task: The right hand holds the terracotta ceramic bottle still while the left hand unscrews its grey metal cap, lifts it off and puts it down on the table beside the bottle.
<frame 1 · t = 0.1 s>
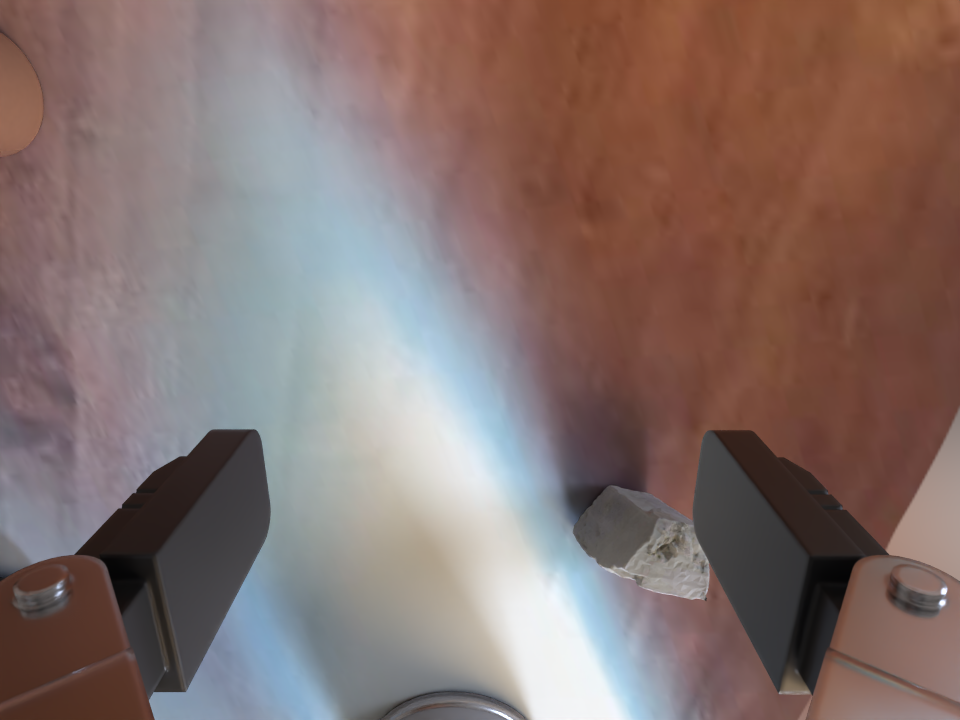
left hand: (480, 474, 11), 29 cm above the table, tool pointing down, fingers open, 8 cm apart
mineral specimen: (627, 504, 46), on the table
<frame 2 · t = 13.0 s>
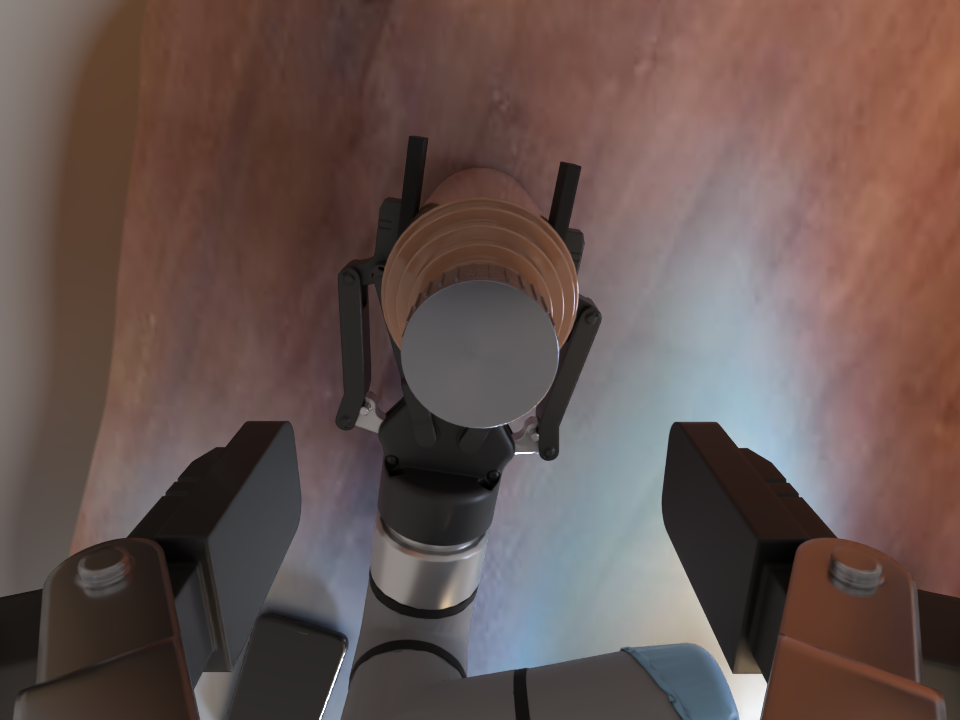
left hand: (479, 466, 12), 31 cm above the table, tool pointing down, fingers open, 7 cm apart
right hand: (495, 151, 33), fingers closed on bottle, 7 cm apart
bottle: (479, 226, 40), on the table, touching right hand
smartphone: (285, 686, 54), on the table
cap: (479, 353, 17), point 24 cm above the table, screwed on, not yet turned
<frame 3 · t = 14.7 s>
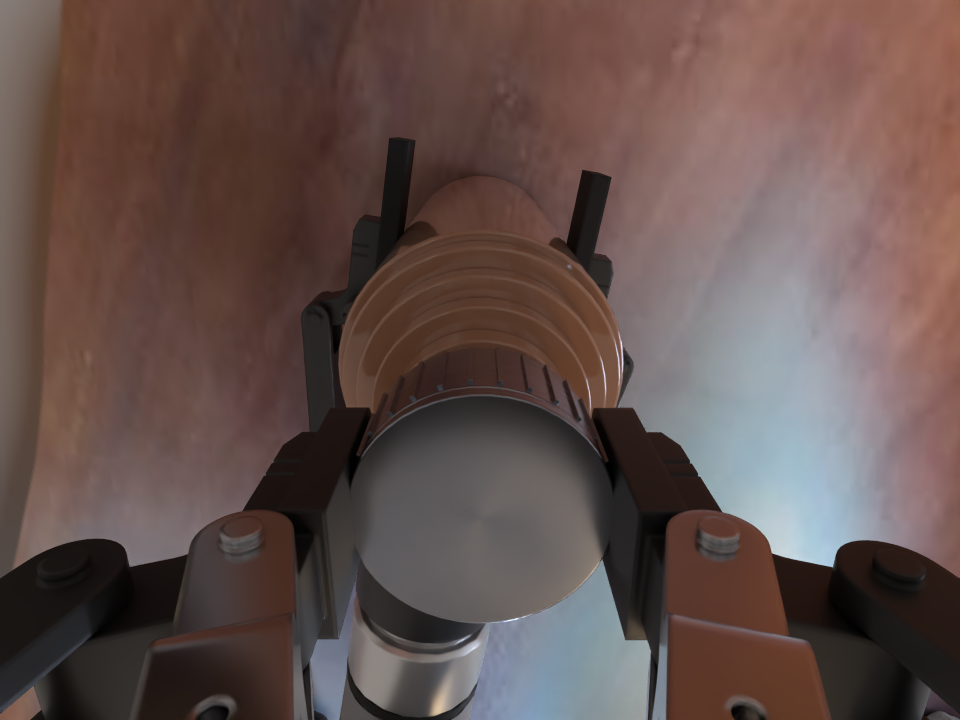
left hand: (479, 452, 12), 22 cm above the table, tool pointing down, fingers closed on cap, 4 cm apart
bottle: (480, 247, 33), on the table, touching right hand
cap: (481, 507, 10), point 24 cm above the table, screwed on, not yet turned, touching left hand
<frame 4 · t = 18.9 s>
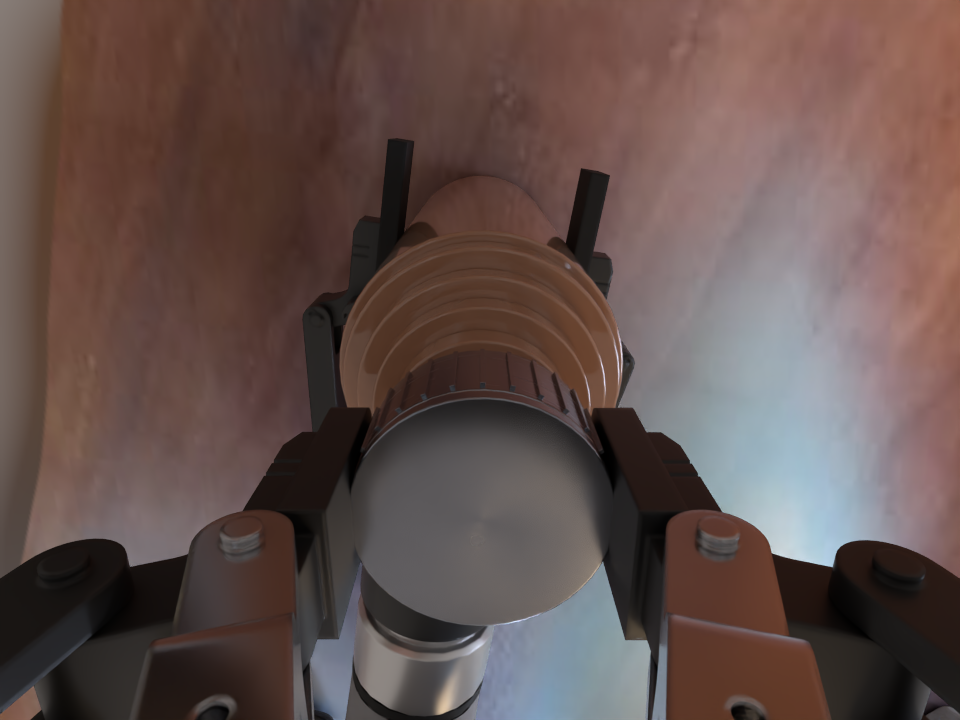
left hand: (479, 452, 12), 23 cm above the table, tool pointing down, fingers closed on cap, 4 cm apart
bottle: (480, 247, 33), on the table, touching right hand
cap: (481, 510, 10), point 24 cm above the table, turned 106° so far, risen 0.1 cm, still on its thread, touching left hand
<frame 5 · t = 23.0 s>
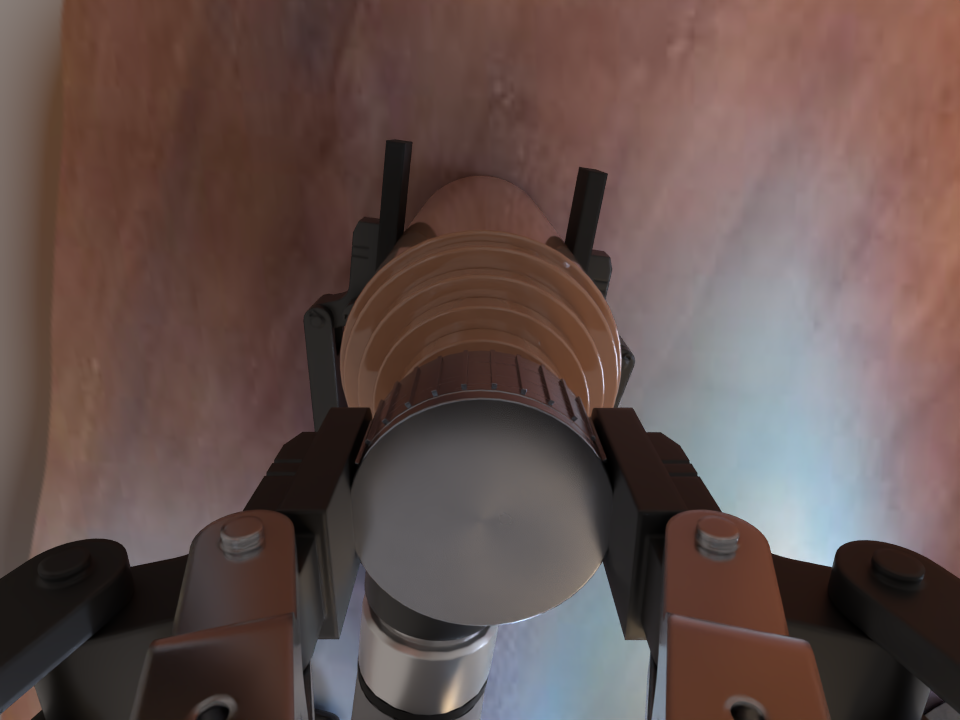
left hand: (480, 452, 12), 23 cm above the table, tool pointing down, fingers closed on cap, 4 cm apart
bottle: (480, 246, 33), on the table, touching right hand
cap: (481, 510, 10), point 24 cm above the table, turned 212° so far, risen 0.2 cm, still on its thread, touching left hand
mineral specimen: (956, 717, 45), on the table
when the left hand's fingers open (1 cm above the table, at t = 35.0 s): cap stays where it is, point 2 cm above the table.
when the right hand's fingers open (6 cm above the table, at t = 36.1 s): bottle stays where it is, on the table.
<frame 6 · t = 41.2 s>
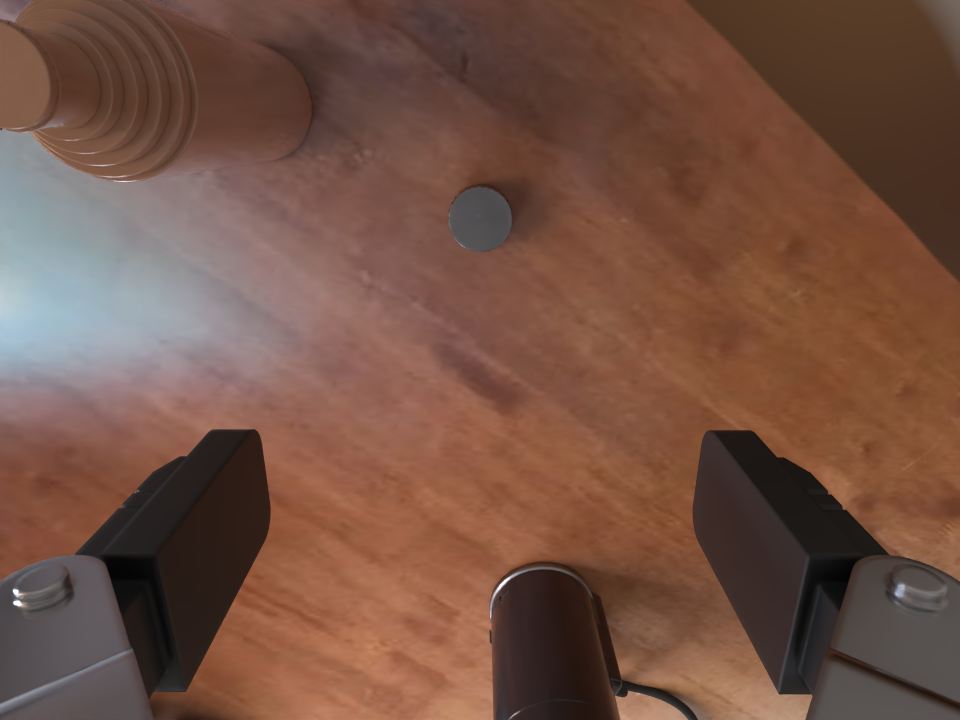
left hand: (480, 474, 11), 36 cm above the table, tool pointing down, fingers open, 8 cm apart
bottle: (258, 104, 42), on the table
cap: (480, 219, 43), point 2 cm above the table, off its thread
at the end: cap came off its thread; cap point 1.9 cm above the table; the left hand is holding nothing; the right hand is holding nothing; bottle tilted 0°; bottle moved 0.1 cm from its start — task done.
